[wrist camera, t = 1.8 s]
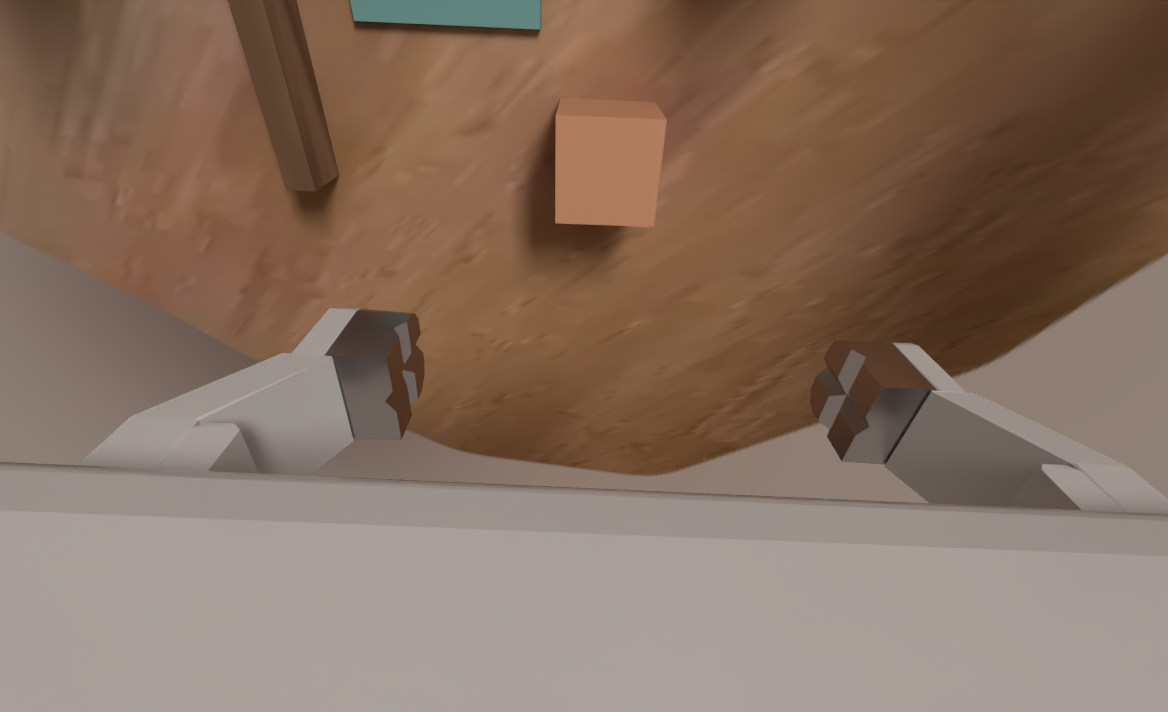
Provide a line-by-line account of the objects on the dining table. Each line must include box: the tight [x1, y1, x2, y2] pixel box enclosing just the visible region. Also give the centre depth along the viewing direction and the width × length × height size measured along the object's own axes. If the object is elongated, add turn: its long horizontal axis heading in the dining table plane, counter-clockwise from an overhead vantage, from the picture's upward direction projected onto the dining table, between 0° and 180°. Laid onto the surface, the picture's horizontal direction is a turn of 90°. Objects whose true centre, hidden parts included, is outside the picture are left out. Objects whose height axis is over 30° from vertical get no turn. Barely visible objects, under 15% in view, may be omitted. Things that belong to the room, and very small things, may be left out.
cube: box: [555, 98, 667, 227], centre depth 26 cm, size 5×5×5 cm
